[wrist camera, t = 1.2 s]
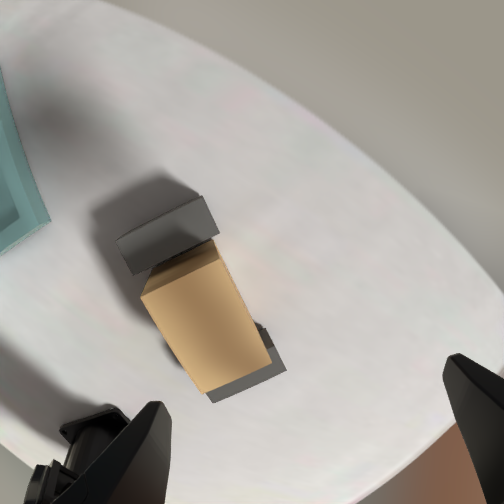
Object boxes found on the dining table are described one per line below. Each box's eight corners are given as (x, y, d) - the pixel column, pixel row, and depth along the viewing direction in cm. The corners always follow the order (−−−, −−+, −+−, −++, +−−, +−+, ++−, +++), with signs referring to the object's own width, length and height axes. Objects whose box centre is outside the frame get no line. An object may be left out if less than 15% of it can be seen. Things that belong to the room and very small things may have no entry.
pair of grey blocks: (210, 381, 21) (212, 403, 18) (125, 233, 18) (115, 241, 15) (276, 351, 21) (286, 370, 19) (201, 195, 18) (203, 197, 16)
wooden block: (198, 348, 20) (201, 394, 15) (152, 268, 19) (140, 297, 14) (254, 323, 20) (272, 362, 16) (213, 239, 19) (219, 258, 14)
